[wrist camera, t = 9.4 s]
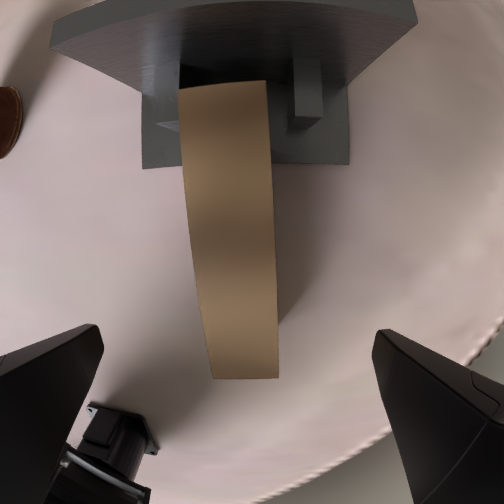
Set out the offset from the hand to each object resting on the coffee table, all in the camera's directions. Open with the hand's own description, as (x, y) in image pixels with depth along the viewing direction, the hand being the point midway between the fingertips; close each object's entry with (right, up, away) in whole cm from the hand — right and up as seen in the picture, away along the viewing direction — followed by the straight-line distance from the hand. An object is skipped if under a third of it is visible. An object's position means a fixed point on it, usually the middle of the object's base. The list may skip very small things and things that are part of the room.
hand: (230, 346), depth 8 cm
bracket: (0, +11, +7) cm, 13 cm away
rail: (0, +4, +9) cm, 10 cm away
